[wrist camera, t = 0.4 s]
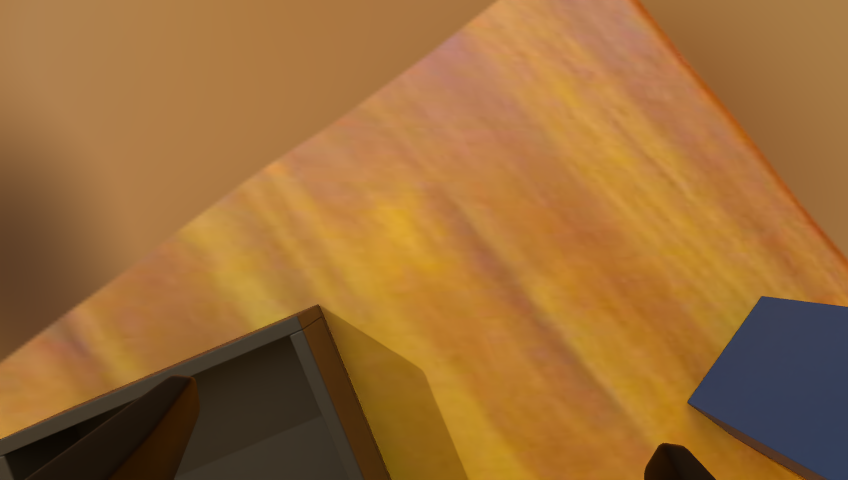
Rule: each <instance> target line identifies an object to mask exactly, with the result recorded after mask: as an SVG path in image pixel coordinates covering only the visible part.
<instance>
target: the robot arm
mask: <svg viewBox="0 0 848 480" xmlns="http://www.w3.org/2000/svg"><path fill="white" fill-rule="evenodd" d="M199 412H200V401H199V395H198V389H197V383H196V380H195V379H194V378H193V377H190V376H183V375H172V376H169V377H168V378H166V379H165V380H163V381H162V382H161V383H159V384H158V385H156V386H155V387H154V388H152V389H151V390H149V391H148V392H147V393H145V394H144V395H142V396H141V397H140V398H138V399H137V400H135V401H134V402H133V403H131V404H130V405H128V406H127V407H126V408H124V409H123V410H121V411H120V412H119V413H117V414H116V415H114V416H113V417H112V418H110V419H109V420H107V421H106V422H105V423H103V424H102V425H100V426H99V427H98V428H96V429H95V430H93V431H92V432H91V433H89V434H88V435H86V436H85V437H84V438H82V439H81V440H79V441H78V442H77V443H75V444H74V445H72V446H71V447H70V448H68V449H67V450H65V451H64V452H63V453H61V454H60V455H58V456H57V457H56V458H54V459H53V460H51V461H50V462H49V463H47V464H46V465H44V466H43V467H42V468H40V469H39V470H37V471H36V472H35V473H33V474H32V475H30V476H29V477H28V478H26V479H25V480H174V478H175V476H176V473H177V471H178V468H179V466H180V463H181V460H182V458H183V455H184V453H185V450H186V448H187V445H188V442H189V440H190V437H191V435H192V432H193V429H194V427H195V424H196V422H197V419H198V416H199ZM644 480H716V479H715V478H714V477H713V476H712V475H711V474H710V473H709V472H708V471H707V469H706V468H705V467H704V466H703V465H702V464H701V463H700V462H699V461H698V460H697V459H696V458H695V457H694V456H693V454H692V453H691V452H690V451H689V450H688V449H686V448H685V447H684V446H681V445H676V444H669V443H662V444H660V445H659V446H658V448H657V449H656V451H655V453H654V454H653V456H652V458H651V459H650V461H649V463H648V464H647V466H646V468H645V473H644Z"/></svg>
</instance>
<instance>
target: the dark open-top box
mask: <svg viewBox="0 0 848 480" xmlns="http://www.w3.org/2000/svg"><path fill="white" fill-rule="evenodd" d="M172 375H183V376H190V377H193V378H194V379H195V380H196V383H197V389H198V395H199V401H200V412H199V416H198V419H197V422H196V424H195V427H194V429H193V432H192V435H191V437H190V440H189V442H188V445H187V448H186V450H185V453H184V455H183V458H182V460H181V463H180V466H179V468H178V471H177V473H176V476H175V478H174V480H391V478H390V476H389V473H388V471H387V468H386V466H385V463H384V461H383V459H382V456H381V454H380V451H379V449H378V447H377V444H376V442H375V439H374V437H373V434H372V432H371V430H370V427H369V425H368V422H367V420H366V417H365V415H364V413H363V410H362V408H361V405H360V403H359V401H358V398H357V396H356V393H355V391H354V388H353V386H352V384H351V381H350V379H349V376H348V374H347V372H346V369H345V367H344V364H343V362H342V359H341V357H340V355H339V352H338V350H337V347H336V345H335V342H334V340H333V338H332V335H331V333H330V330H329V328H328V326H327V323H326V321H325V318H324V316H323V313H322V311H321V309H320V306H319V305H315V306H313V307H310V308H308V309H306V310H303V311H301V312H298V313H296V314H294V315H291V316H289V317H287V318H284V319H282V320H279V321H277V322H275V323H272V324H270V325H267V326H265V327H263V328H260V329H258V330H255V331H253V332H251V333H248V334H246V335H244V336H241V337H239V338H236V339H234V340H232V341H229V342H227V343H224V344H222V345H220V346H217V347H215V348H212V349H210V350H208V351H205V352H203V353H201V354H198V355H196V356H193V357H191V358H189V359H186V360H184V361H181V362H179V363H177V364H174V365H172V366H170V367H167V368H165V369H162V370H160V371H158V372H155V373H153V374H150V375H148V376H146V377H143V378H141V379H138V380H136V381H134V382H131V383H129V384H127V385H124V386H122V387H119V388H117V389H115V390H112V391H110V392H107V393H105V394H103V395H100V396H98V397H95V398H93V399H91V400H88V401H86V402H84V403H81V404H79V405H76V406H74V407H72V408H69V409H67V410H64V411H62V412H60V413H58V414H56V415H53V416H51V417H49V418H47V419H44V420H42V421H40V422H38V423H36V424H33V425H31V426H29V427H27V428H24V429H22V430H20V431H18V432H16V433H13V434H11V435H9V436H7V437H4V438H2V439H0V480H25V479H26V478H28V477H29V476H30V475H32V474H33V473H35V472H36V471H37V470H39V469H40V468H42V467H43V466H44V465H46V464H47V463H49V462H50V461H51V460H53V459H54V458H56V457H57V456H58V455H60V454H61V453H63V452H64V451H65V450H67V449H68V448H70V447H71V446H72V445H74V444H75V443H77V442H78V441H79V440H81V439H82V438H84V437H85V436H86V435H88V434H89V433H91V432H92V431H93V430H95V429H96V428H98V427H99V426H100V425H102V424H103V423H105V422H106V421H107V420H109V419H110V418H112V417H113V416H114V415H116V414H117V413H119V412H120V411H121V410H123V409H124V408H126V407H127V406H128V405H130V404H131V403H133V402H134V401H135V400H137V399H138V398H140V397H141V396H142V395H144V394H145V393H147V392H148V391H149V390H151V389H152V388H154V387H155V386H156V385H158V384H159V383H161V382H162V381H163V380H165V379H166V378H168V377H169V376H172Z"/></svg>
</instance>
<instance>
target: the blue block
mask: <svg viewBox="0 0 848 480" xmlns="http://www.w3.org/2000/svg"><path fill="white" fill-rule="evenodd" d="M688 403H689V404H690V405H691V406H693V407H694V408H695V409H697V410H698V411H699V412H701V413H702V414H704V415H705V416H706V417H708V418H709V419H710V420H712V421H713V422H714V423H716V424H717V425H719V426H720V427H721V428H723V429H724V430H725V431H727V432H728V433H729V434H731V435H732V436H733V437H735V438H736V439H738V440H740V441H742V442H743V443H745V444H747V445H749V446H750V447H752V448H754V449H755V450H757V451H759V452H761V453H762V454H764V455H766V456H768V457H769V458H771V459H773V460H774V461H776V462H778V463H780V464H781V465H783V466H785V467H787V468H788V469H790V470H792V471H794V472H795V473H797V474H799V475H800V476H802V477H804V478H806V479H807V480H848V307H844V306H836V305H828V304H820V303H812V302H804V301H796V300H788V299H780V298H772V297H764V296H762V297H761V298H760V300H759V301H758V303H757V304H756V305H755V307H754V308H753V310H752V311H751V313H750V314H749V315H748V317H747V318H746V320H745V321H744V322H743V324H742V325H741V327H740V328H739V330H738V331H737V332H736V334H735V335H734V337H733V338H732V340H731V341H730V342H729V344H728V345H727V347H726V348H725V349H724V351H723V352H722V354H721V355H720V357H719V358H718V359H717V361H716V362H715V364H714V365H713V366H712V368H711V369H710V371H709V372H708V374H707V375H706V376H705V378H704V379H703V381H702V382H701V383H700V385H699V386H698V388H697V389H696V391H695V392H694V393H693V395H692V396H691V398H690V399H689V400H688Z"/></svg>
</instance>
